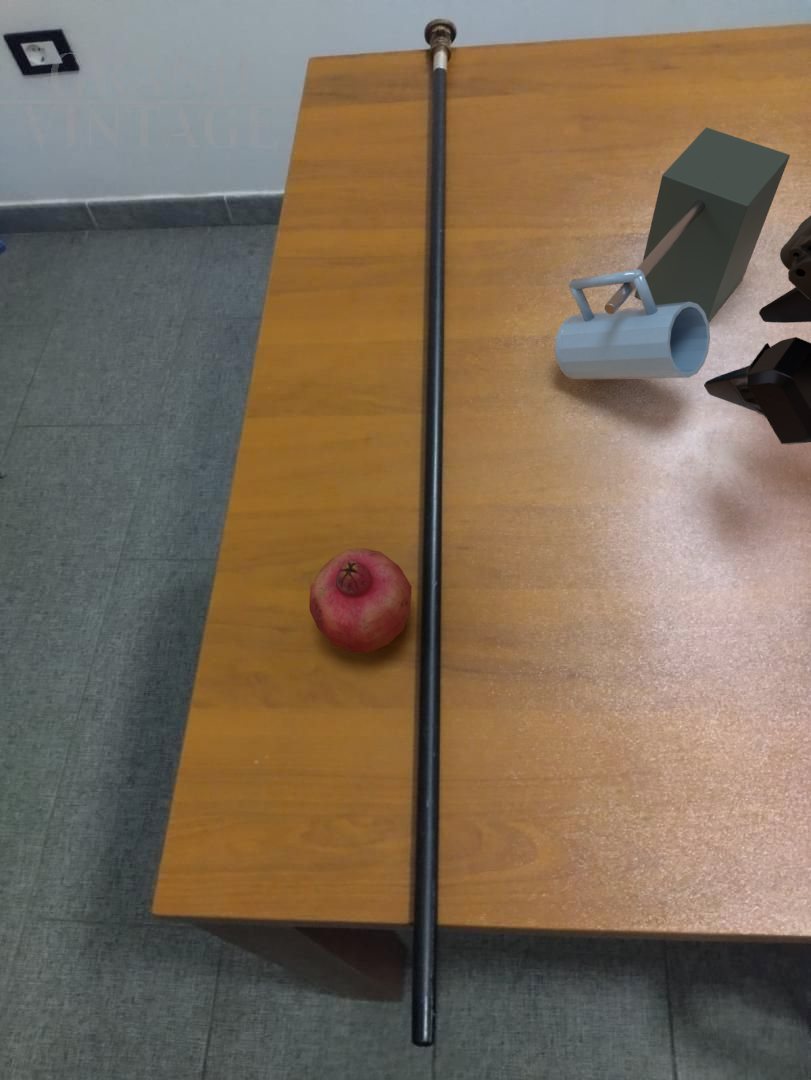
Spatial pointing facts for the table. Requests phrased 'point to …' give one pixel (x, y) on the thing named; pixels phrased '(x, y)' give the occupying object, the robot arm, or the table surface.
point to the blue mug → (631, 336)
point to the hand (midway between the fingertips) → (735, 351)
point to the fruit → (360, 600)
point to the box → (707, 221)
